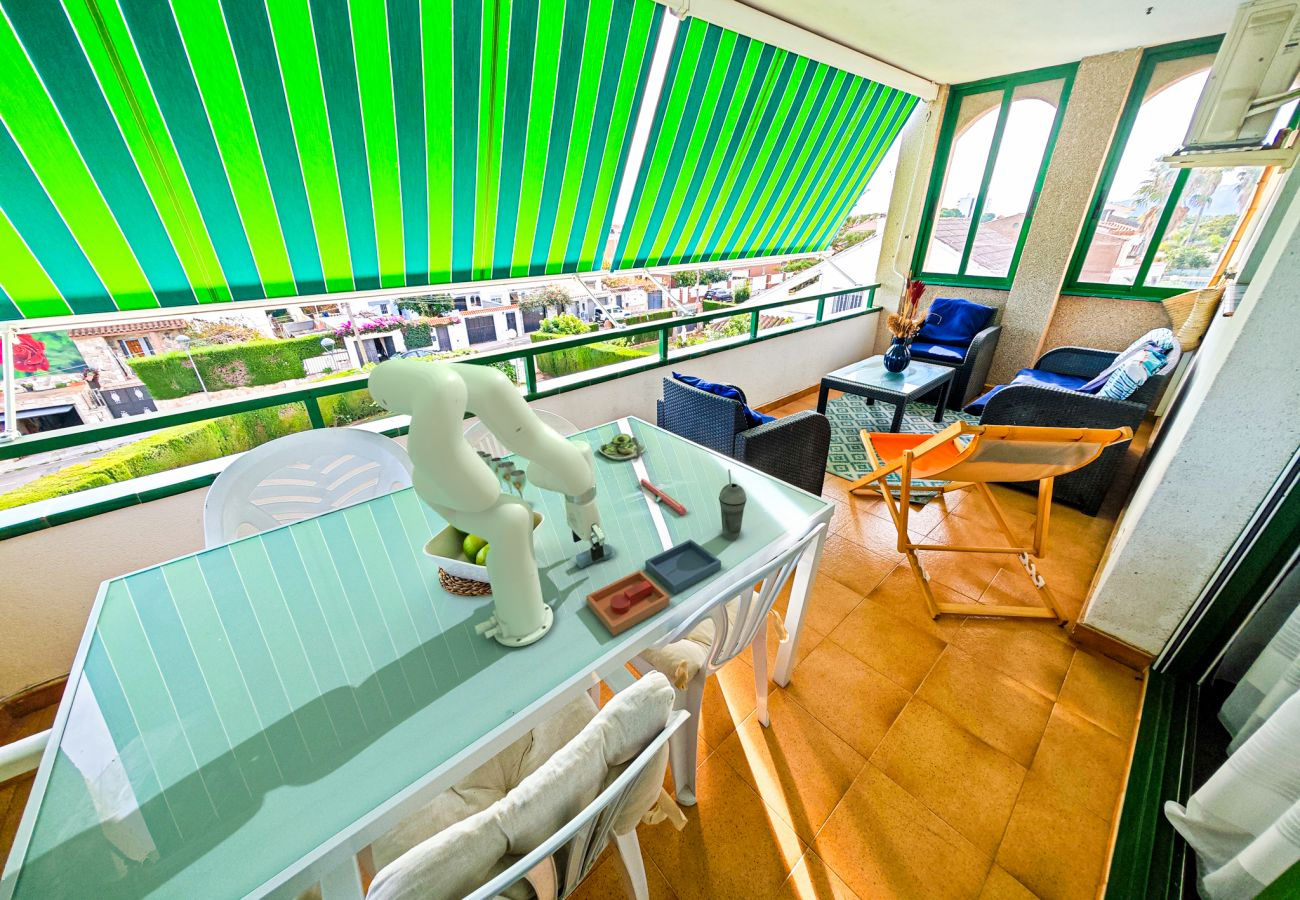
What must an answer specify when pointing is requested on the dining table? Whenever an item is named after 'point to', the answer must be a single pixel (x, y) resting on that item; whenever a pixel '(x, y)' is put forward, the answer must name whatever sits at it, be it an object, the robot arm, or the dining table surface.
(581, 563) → the blue-grey rounded block
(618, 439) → the salad plate
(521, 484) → the goblet set
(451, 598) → the dining table surface
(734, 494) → the beverage cup
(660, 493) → the red bar
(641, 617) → the terracotta tray
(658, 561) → the slate tray
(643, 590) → the red spoon
